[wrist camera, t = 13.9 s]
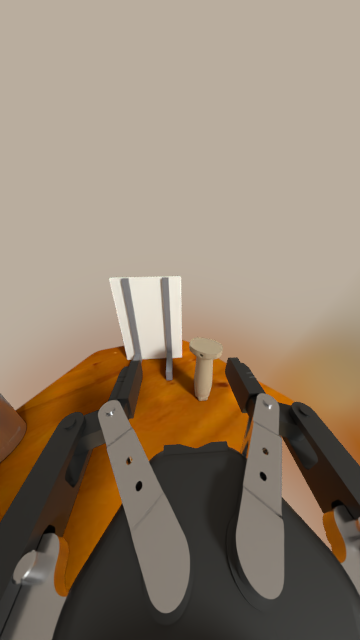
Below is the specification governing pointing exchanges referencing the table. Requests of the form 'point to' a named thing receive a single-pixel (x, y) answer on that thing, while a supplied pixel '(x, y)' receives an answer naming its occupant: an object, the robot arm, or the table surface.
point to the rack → (150, 317)
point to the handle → (204, 364)
